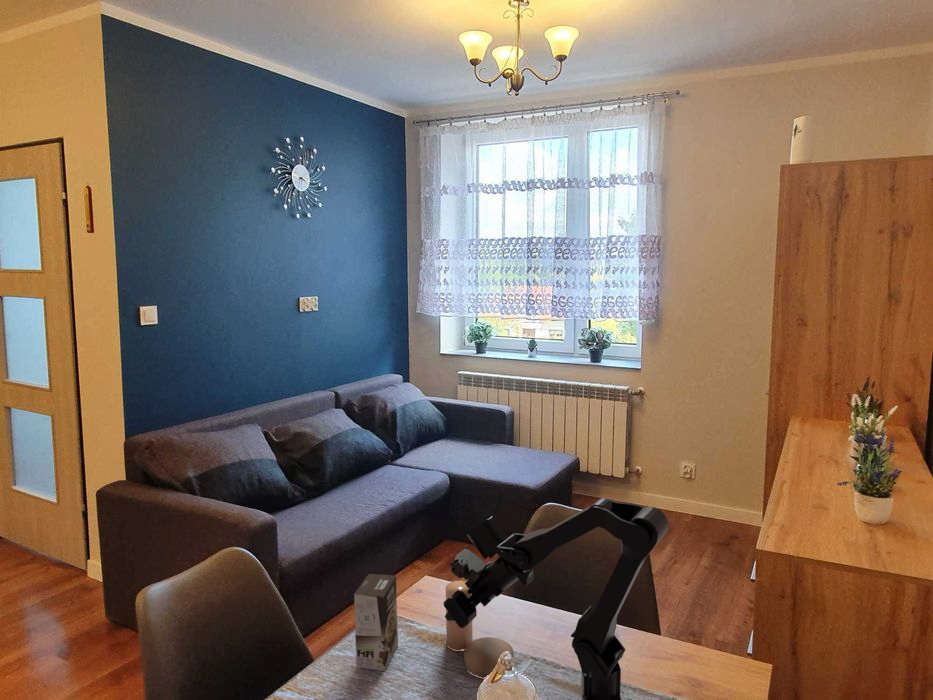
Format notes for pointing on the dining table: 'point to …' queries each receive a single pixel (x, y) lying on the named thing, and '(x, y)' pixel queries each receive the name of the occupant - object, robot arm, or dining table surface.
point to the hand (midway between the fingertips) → (453, 611)
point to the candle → (454, 633)
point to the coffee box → (376, 621)
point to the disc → (484, 655)
